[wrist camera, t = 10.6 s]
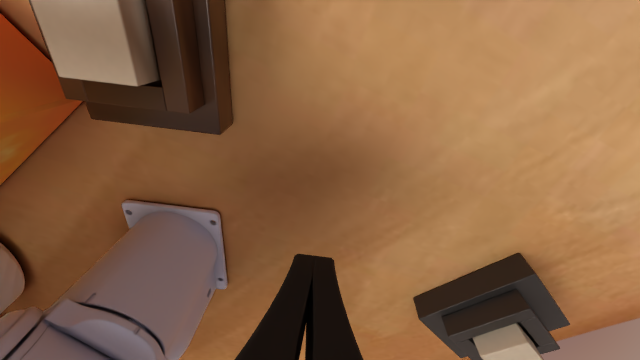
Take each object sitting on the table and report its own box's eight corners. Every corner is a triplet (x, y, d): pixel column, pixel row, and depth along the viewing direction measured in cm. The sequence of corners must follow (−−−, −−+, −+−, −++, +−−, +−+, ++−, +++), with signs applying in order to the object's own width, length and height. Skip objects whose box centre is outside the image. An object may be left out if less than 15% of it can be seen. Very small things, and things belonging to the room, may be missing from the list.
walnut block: (233, 124, 18) (207, 147, 15) (116, 109, 18) (63, 129, 15) (220, -73, 13) (176, -109, 10) (59, -92, 13) (-43, -135, 10)
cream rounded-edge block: (489, 354, 23) (499, 376, 22) (470, 334, 22) (480, 357, 21) (532, 341, 22) (546, 364, 21) (514, 319, 21) (528, 342, 19)
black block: (452, 336, 28) (468, 379, 25) (413, 297, 26) (424, 339, 22) (553, 301, 25) (587, 346, 21) (519, 252, 22) (552, 294, 19)
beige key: (160, 80, 13) (138, 86, 12) (90, 71, 13) (58, 77, 12) (144, -7, 12) (114, -12, 10) (62, -17, 12) (20, -24, 10)
